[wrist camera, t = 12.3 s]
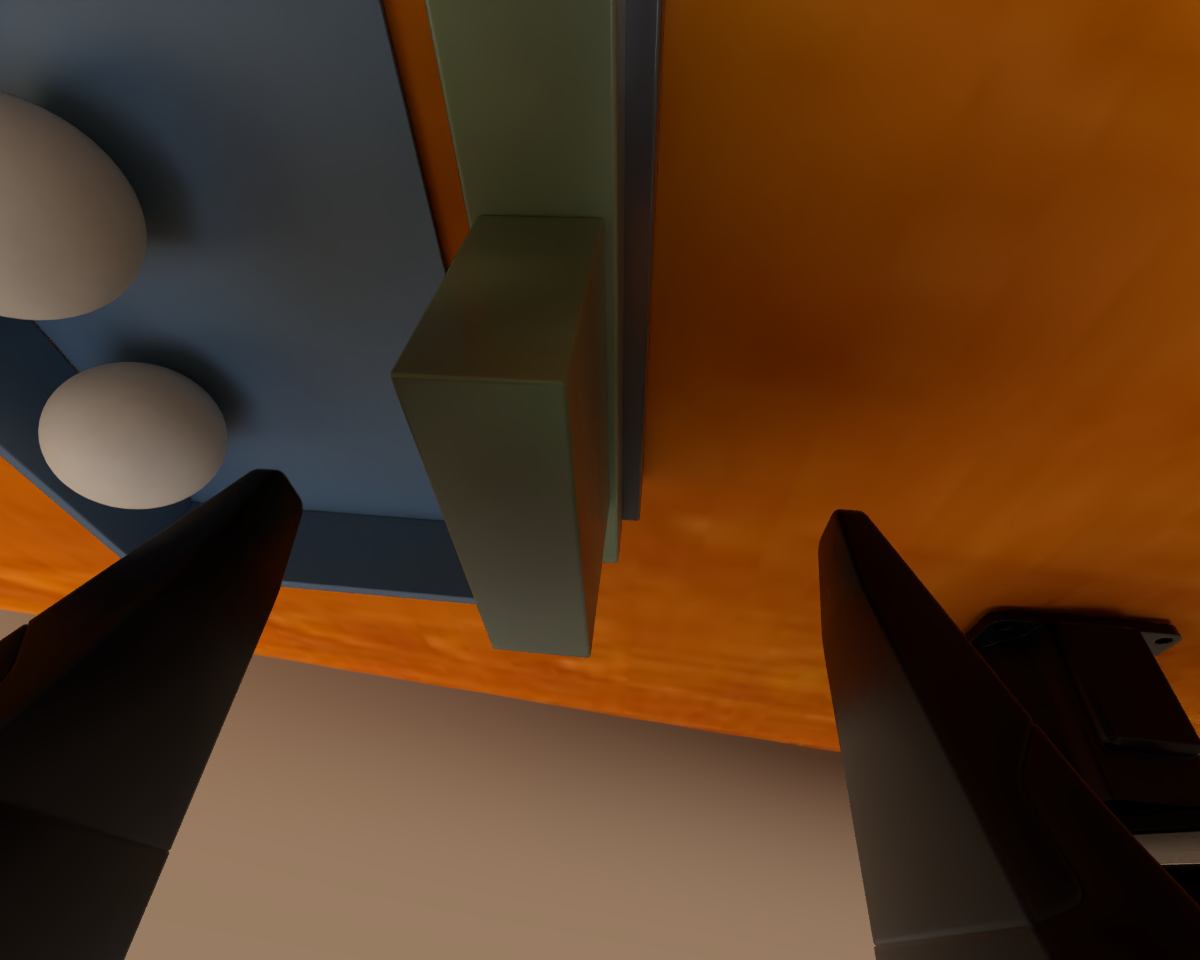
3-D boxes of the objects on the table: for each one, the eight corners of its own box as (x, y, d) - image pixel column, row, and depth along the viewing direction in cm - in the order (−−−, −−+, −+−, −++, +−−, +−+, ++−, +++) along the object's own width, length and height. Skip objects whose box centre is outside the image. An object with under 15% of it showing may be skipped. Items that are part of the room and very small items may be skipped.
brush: (668, -52, 9) (636, 88, 4) (642, 482, 18) (624, 710, 13) (451, -48, 9) (189, 86, 4) (536, 475, 18) (482, 696, 14)
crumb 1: (211, 302, 12) (-15, 387, 10) (162, 247, 14) (-32, 309, 13) (73, 77, 9) (-270, 144, 8) (39, 50, 11) (-236, 96, 10)
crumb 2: (277, 477, 17) (140, 563, 15) (214, 414, 19) (83, 485, 17) (209, 377, 14) (26, 469, 12) (140, 312, 16) (-31, 384, 14)
